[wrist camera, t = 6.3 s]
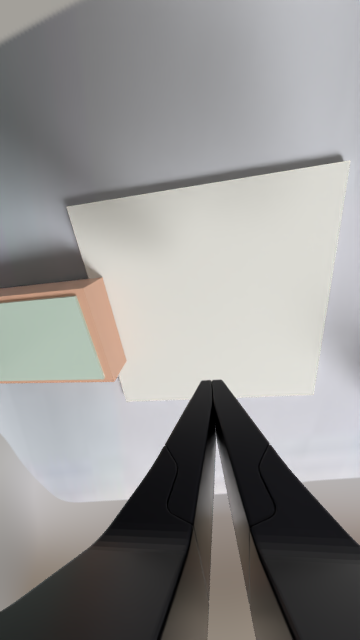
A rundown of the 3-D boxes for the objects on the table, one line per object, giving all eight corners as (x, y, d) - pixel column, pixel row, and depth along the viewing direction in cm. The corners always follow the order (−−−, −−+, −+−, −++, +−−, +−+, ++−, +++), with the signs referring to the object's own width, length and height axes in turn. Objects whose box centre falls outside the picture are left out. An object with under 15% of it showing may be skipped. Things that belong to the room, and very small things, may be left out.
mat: (128, 397, 21) (126, 401, 20) (70, 206, 14) (66, 206, 14) (310, 390, 18) (313, 394, 18) (344, 162, 12) (350, 160, 11)
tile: (126, 360, 18) (23, 364, 20) (102, 277, 15) (-17, 290, 17) (113, 383, 16) (-4, 385, 18) (81, 289, 13) (-55, 302, 15)
